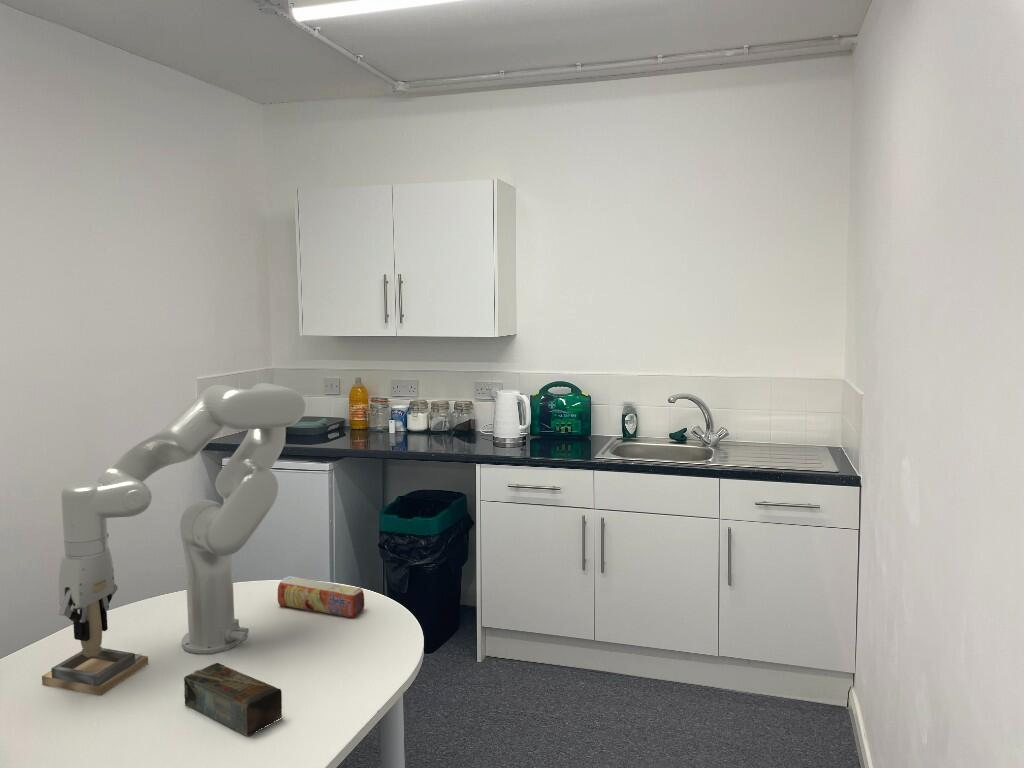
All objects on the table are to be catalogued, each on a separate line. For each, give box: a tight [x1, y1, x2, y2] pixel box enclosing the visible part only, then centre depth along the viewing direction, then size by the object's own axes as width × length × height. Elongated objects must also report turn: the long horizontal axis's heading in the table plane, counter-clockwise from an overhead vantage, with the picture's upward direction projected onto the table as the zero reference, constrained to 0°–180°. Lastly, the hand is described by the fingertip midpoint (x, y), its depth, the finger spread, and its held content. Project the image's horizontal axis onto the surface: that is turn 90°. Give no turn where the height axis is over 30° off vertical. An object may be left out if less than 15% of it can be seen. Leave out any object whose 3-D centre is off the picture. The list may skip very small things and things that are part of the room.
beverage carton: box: [183, 662, 283, 737], centre depth 153 cm, size 8×19×7 cm, turn 55°
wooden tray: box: [41, 647, 149, 696], centre depth 166 cm, size 14×13×4 cm
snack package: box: [277, 575, 365, 619], centre depth 199 cm, size 21×7×7 cm, turn 71°
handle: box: [79, 580, 106, 657], centre depth 163 cm, size 5×6×15 cm
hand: (91, 633), depth 163 cm, fingers closed on handle, 3 cm apart
